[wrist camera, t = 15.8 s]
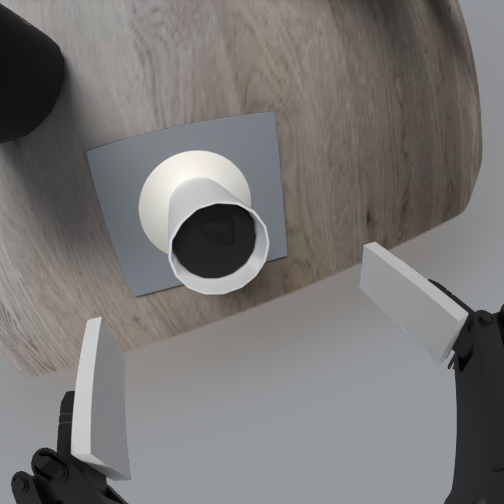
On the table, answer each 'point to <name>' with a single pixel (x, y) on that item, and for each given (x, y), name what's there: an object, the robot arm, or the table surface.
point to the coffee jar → (26, 76)
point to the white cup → (214, 238)
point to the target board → (172, 175)
